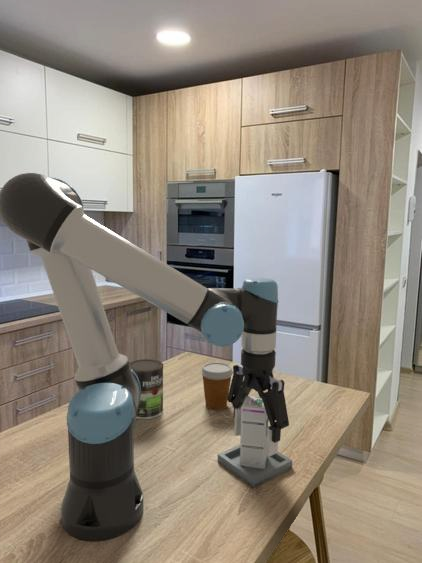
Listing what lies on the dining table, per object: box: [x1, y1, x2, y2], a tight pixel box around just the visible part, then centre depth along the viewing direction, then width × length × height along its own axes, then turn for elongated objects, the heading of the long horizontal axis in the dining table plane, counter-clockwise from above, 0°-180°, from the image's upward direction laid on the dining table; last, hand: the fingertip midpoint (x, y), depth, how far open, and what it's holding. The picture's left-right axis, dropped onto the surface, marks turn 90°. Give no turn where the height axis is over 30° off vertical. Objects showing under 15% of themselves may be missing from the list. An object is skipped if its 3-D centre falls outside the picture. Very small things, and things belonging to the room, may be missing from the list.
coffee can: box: [129, 358, 164, 421], centre depth 120 cm, size 10×10×14 cm
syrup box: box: [239, 395, 269, 469], centre depth 95 cm, size 6×6×14 cm
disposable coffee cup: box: [200, 362, 233, 411], centre depth 125 cm, size 10×10×12 cm
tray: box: [217, 444, 293, 489], centre depth 96 cm, size 12×12×2 cm
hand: (255, 443), depth 95 cm, fingers open, 10 cm apart
